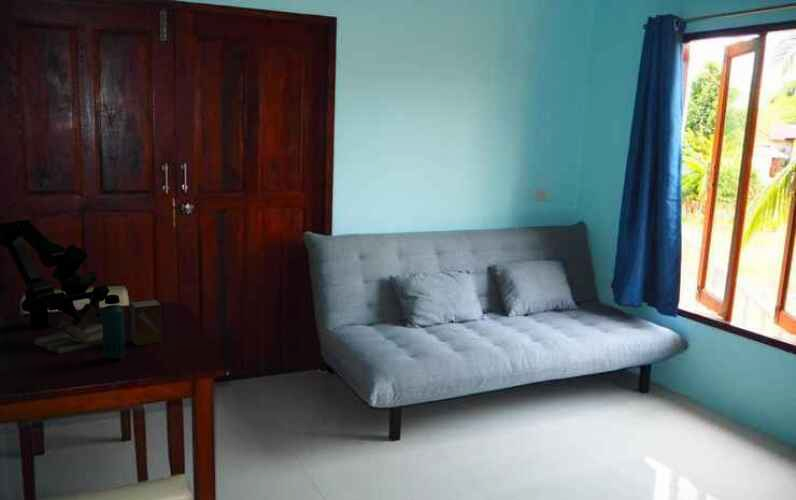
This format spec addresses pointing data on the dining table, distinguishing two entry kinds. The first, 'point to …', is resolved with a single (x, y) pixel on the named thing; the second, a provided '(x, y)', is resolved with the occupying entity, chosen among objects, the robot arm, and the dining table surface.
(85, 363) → the dining table surface
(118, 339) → the beverage bottle
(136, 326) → the small box
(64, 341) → the board
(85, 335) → the block
